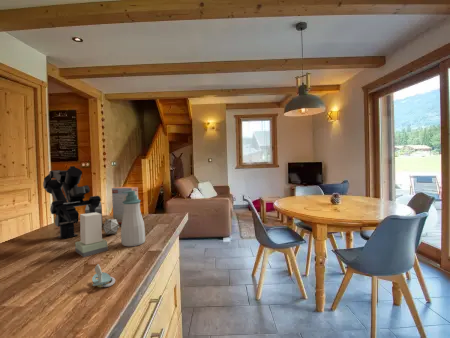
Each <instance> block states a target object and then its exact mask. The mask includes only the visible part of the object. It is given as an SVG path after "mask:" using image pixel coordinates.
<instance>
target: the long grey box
mask: <svg viewBox="0 0 450 338" xmlns="http://www.w3.org/2000/svg"><path fill="white" fill-rule="evenodd" d="M95 212H97V213H100V214H102V215H103V209H102V202H101V201H100V203H99V206H98V207H96V209H95ZM87 213H90V211H89V207H88V205H85V209H84V214H87ZM103 225H104V223H102V226H103Z"/></svg>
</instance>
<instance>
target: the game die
mask: <svg viewBox="0 0 450 338" xmlns="http://www.w3.org/2000/svg"><path fill="white" fill-rule="evenodd" d="M104 220H105V221H104V223H103V226H102V230H104V232H105V235H104V236H106V237H107V235H113V234H116V235H118V230H119V228H121V224H118V222H117V218H116V219H113V218H110V219H107V218H104Z"/></svg>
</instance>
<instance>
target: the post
mask: <svg viewBox="0 0 450 338" xmlns="http://www.w3.org/2000/svg"><path fill="white" fill-rule="evenodd" d="M79 217H80V218H79V219H80V220H79V226H80V231H79V232H80V235H79V236H80V241H81V242H82V243H84V244H85V245H87V244H92V243H96V242H101V241H102V239H103V232H102V230H103V227H102V224H103V213H102V214H100V213H97V212H95V213H87V214H86V213H79Z"/></svg>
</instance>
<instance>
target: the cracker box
mask: <svg viewBox="0 0 450 338" xmlns="http://www.w3.org/2000/svg"><path fill="white" fill-rule="evenodd" d="M127 191H135V195H137V199H139V187H138V186H116V187H112V188H111V195H112V196H111V197H112V219H116V218H117V222H118V224H120V225H122V220H123V215H124V203H123V201H125V200H126V196H128V193H122V192H127Z"/></svg>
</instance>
